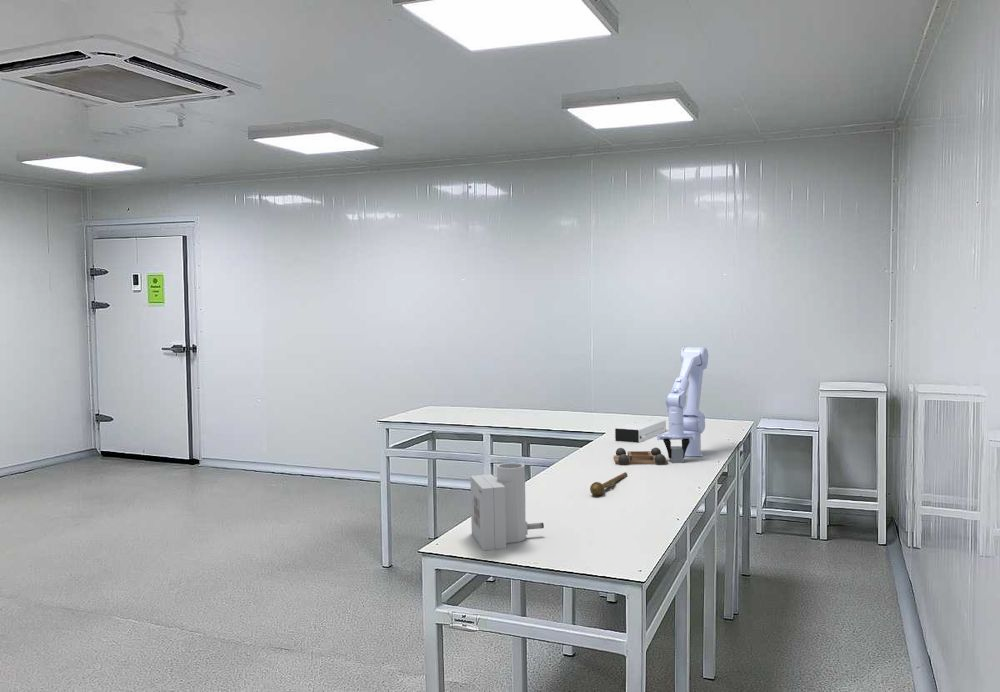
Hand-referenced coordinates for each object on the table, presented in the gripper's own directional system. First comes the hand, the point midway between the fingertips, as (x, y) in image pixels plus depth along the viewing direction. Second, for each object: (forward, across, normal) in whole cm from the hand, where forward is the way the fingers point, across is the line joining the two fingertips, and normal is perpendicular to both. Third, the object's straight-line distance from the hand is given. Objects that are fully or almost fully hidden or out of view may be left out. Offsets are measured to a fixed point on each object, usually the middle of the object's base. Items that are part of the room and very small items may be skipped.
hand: (676, 457), depth 321 cm
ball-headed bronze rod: (+2, -28, -42) cm, 50 cm away
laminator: (+2, -7, +60) cm, 60 cm away
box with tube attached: (+2, -59, -104) cm, 120 cm away
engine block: (+1, 0, 0) cm, 1 cm away
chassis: (+1, -14, +1) cm, 14 cm away
